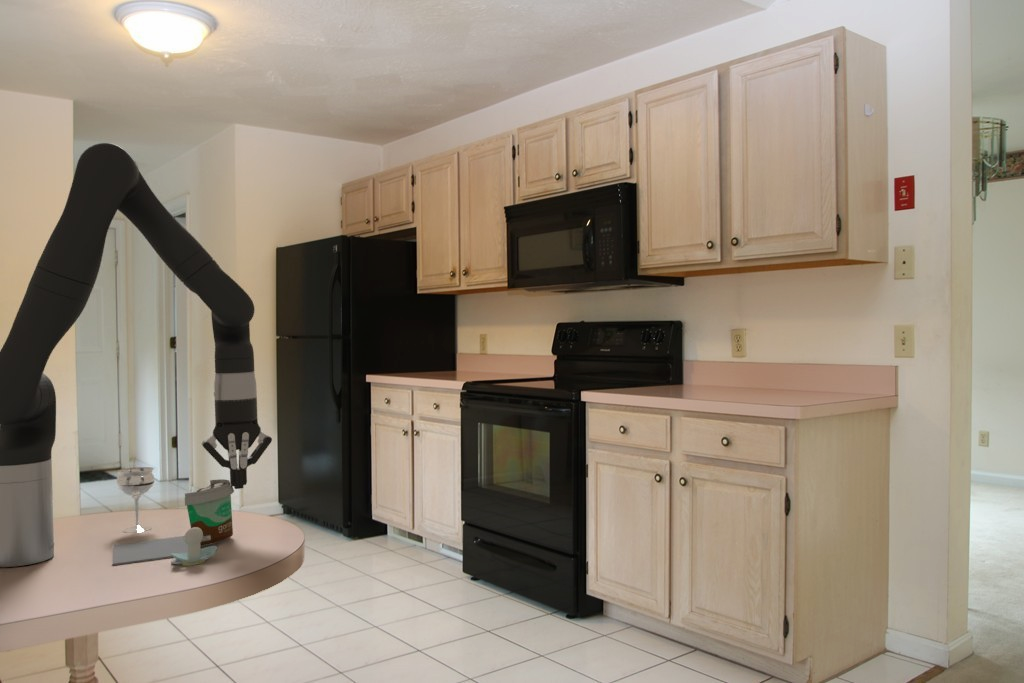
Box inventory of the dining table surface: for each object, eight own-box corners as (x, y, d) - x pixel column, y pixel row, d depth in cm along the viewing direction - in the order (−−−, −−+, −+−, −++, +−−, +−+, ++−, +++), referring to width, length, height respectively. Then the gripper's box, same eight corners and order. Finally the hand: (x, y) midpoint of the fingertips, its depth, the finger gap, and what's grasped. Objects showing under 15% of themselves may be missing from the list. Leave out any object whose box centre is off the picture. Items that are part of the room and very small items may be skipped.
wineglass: (115, 529, 156) (113, 469, 156) (151, 523, 160) (150, 465, 160) (121, 535, 151) (120, 474, 151) (159, 529, 155) (157, 470, 155)
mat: (112, 565, 131) (112, 563, 131) (113, 546, 143) (113, 544, 143) (201, 553, 137) (201, 551, 137) (195, 535, 149) (195, 534, 149)
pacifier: (164, 564, 132) (175, 570, 127) (163, 527, 132) (174, 532, 127) (208, 555, 136) (220, 561, 132) (207, 520, 137) (219, 524, 132)
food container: (224, 545, 139) (217, 490, 138) (190, 549, 139) (183, 494, 138) (249, 526, 151) (242, 475, 151) (218, 530, 151) (211, 479, 151)
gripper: (199, 400, 140) (203, 495, 140) (275, 395, 146) (278, 487, 146) (196, 397, 147) (199, 488, 147) (268, 393, 153) (271, 480, 153)
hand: (238, 487), depth 146 cm, fingers closed
